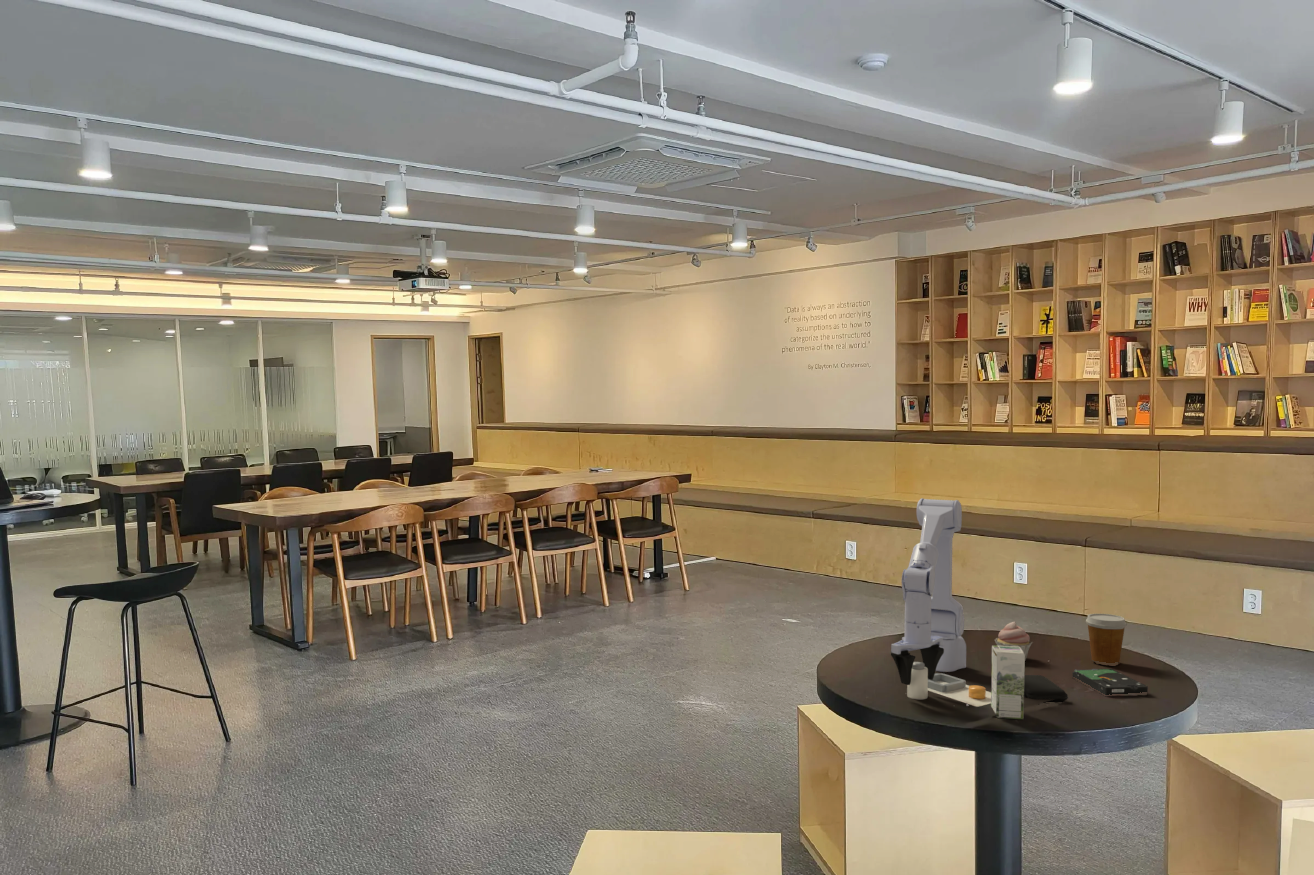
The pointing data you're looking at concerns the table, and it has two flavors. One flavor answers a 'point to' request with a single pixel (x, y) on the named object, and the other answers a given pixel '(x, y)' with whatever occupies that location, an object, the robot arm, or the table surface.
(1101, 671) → the disk drive
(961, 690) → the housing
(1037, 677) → the carrying case or bag
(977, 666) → the table surface
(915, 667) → the cylinder
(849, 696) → the table surface
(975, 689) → the orange short cylinder
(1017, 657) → the syrup box
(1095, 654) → the disposable coffee cup
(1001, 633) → the cupcake
